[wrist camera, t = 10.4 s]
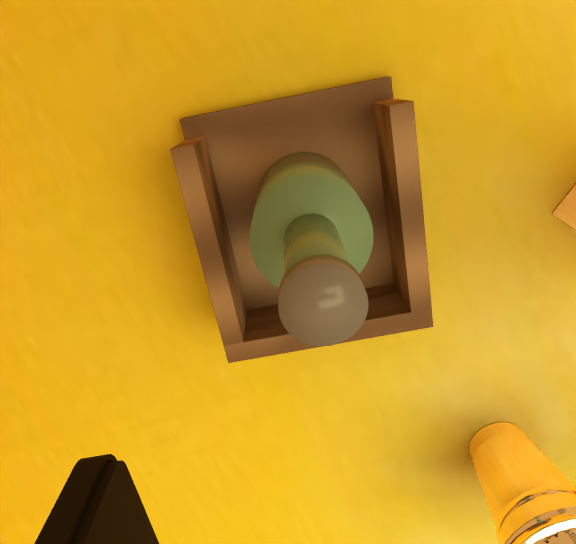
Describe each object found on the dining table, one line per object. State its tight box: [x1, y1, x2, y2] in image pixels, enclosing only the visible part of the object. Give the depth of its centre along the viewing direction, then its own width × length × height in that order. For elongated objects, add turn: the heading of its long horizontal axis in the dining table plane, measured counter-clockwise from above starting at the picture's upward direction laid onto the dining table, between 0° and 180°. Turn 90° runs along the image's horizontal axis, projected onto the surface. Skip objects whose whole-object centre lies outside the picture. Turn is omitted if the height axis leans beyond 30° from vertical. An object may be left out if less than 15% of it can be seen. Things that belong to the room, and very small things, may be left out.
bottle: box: [249, 152, 373, 346], centre depth 23 cm, size 6×6×15 cm
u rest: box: [170, 77, 433, 363], centre depth 29 cm, size 14×12×5 cm
